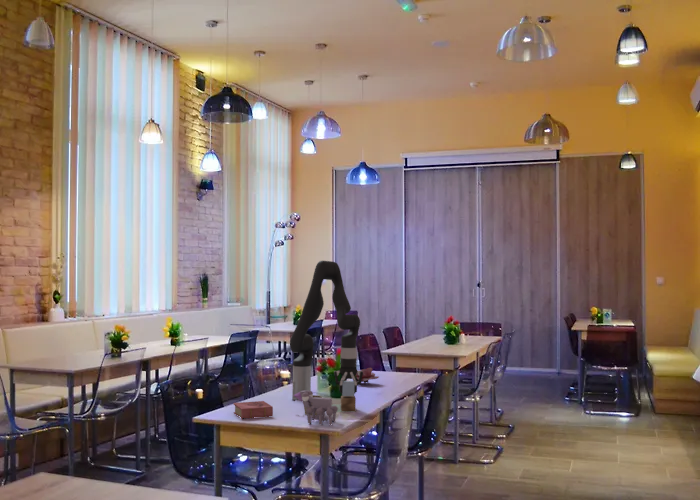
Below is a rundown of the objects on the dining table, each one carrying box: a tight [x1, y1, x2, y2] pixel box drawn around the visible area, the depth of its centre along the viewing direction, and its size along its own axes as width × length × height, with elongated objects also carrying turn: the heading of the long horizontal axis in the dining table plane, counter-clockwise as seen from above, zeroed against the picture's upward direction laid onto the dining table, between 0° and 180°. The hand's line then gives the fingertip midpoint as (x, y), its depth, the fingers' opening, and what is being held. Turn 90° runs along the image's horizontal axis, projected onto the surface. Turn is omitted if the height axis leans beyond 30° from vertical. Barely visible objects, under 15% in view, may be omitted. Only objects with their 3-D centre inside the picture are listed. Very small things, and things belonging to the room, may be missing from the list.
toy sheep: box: [293, 390, 338, 426], centre depth 312 cm, size 20×11×14 cm, turn 72°
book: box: [233, 400, 274, 419], centre depth 325 cm, size 14×15×5 cm
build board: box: [332, 403, 357, 413], centre depth 339 cm, size 12×18×1 cm, turn 3°
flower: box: [354, 367, 380, 385], centre depth 415 cm, size 15×15×10 cm
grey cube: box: [341, 380, 355, 396], centre depth 335 cm, size 6×6×6 cm
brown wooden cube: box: [340, 395, 357, 411], centre depth 335 cm, size 6×6×6 cm
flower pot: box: [303, 394, 323, 416], centre depth 325 cm, size 9×9×9 cm
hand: (348, 393), depth 335 cm, fingers closed on grey cube, 5 cm apart
